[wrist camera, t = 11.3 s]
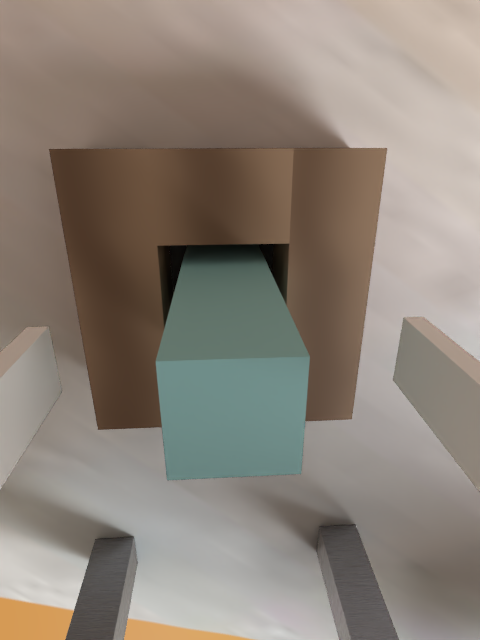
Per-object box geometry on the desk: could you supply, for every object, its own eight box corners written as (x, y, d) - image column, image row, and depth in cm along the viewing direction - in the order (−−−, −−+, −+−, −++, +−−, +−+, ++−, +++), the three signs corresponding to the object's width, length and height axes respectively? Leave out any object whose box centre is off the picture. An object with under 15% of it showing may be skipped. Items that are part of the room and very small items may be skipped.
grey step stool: (396, 395, 28) (735, 855, 10) (368, 552, 35) (543, 1011, 16) (45, 408, 27) (-313, 969, 9) (83, 570, 33) (-77, 1091, 15)
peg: (256, 241, 23) (309, 356, 11) (255, 305, 25) (301, 474, 12) (187, 242, 23) (155, 361, 10) (191, 307, 25) (167, 480, 12)
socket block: (350, 148, 22) (387, 148, 17) (328, 373, 27) (351, 419, 23) (85, 148, 21) (49, 149, 16) (117, 380, 26) (98, 429, 22)
